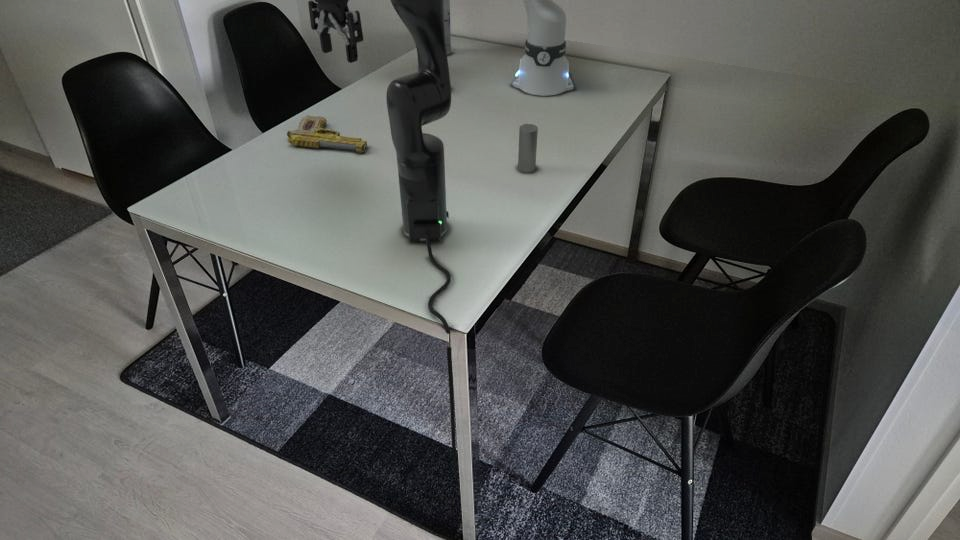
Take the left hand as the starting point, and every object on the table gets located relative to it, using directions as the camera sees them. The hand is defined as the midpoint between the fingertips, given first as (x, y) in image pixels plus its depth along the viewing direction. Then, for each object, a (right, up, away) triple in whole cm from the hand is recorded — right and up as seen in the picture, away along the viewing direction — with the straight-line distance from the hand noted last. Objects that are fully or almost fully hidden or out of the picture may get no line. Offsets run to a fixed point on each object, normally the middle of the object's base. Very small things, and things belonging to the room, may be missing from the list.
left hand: (339, 56), depth 134 cm
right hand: (+8, +38, +45) cm, 60 cm away
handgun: (-9, -11, +33) cm, 36 cm away
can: (+41, -21, +20) cm, 50 cm away
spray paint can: (+17, +30, +85) cm, 91 cm away
